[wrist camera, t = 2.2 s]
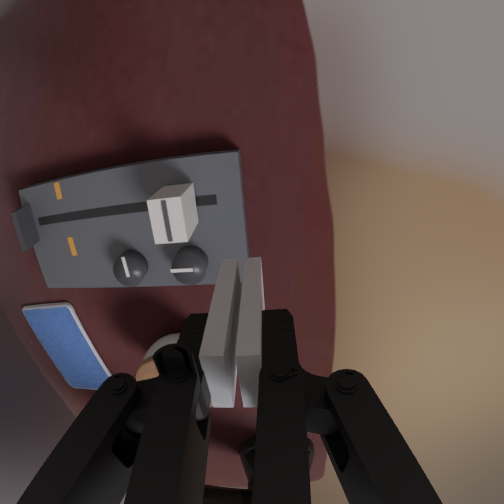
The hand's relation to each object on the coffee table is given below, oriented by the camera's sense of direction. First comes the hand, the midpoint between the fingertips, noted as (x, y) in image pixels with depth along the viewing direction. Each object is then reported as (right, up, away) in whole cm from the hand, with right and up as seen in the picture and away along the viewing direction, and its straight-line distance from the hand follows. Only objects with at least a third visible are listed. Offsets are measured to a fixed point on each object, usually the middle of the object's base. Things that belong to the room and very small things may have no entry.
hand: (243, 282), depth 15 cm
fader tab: (-7, +6, +14) cm, 17 cm away
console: (-14, +5, +19) cm, 24 cm away
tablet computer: (-31, -15, +29) cm, 45 cm away
